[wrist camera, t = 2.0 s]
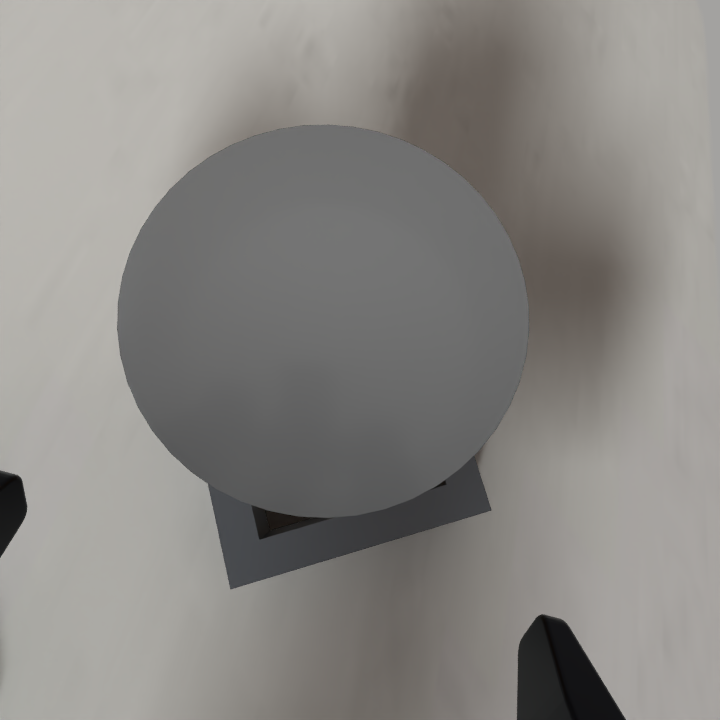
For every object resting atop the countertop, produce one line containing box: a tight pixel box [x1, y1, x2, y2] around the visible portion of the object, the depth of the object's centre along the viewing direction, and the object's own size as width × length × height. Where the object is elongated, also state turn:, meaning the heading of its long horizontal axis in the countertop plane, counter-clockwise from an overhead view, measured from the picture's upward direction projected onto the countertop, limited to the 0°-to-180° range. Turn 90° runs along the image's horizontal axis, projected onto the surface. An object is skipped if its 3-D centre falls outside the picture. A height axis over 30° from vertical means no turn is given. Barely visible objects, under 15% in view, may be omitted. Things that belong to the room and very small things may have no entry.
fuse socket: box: [208, 456, 491, 589], centre depth 19 cm, size 9×9×3 cm
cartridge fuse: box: [117, 125, 529, 518], centre depth 13 cm, size 5×5×15 cm
